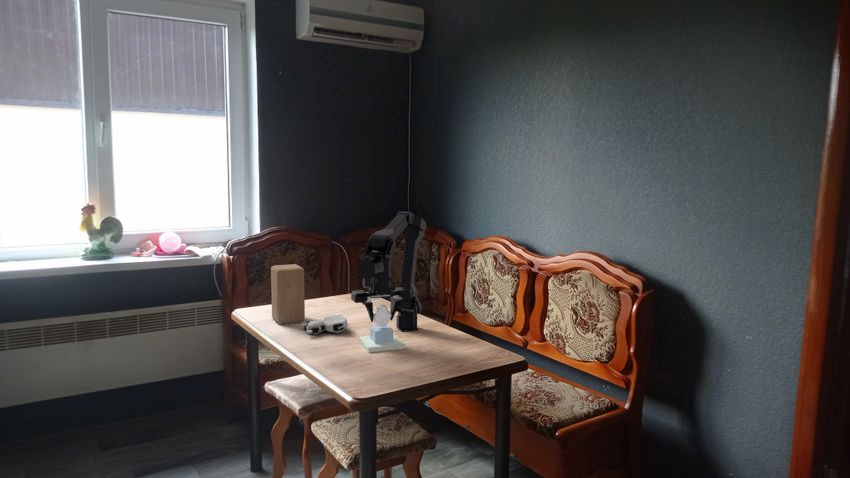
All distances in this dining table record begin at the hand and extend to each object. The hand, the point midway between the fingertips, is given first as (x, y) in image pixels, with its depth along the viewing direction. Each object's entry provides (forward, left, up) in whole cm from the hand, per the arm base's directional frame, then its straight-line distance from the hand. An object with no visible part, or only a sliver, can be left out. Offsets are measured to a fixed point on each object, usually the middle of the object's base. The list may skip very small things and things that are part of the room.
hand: (381, 320), depth 201 cm
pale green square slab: (0, 0, -8) cm, 8 cm away
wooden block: (+24, -39, -8) cm, 46 cm away
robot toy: (+14, -20, -8) cm, 26 cm away
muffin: (0, 0, -2) cm, 2 cm away
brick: (0, 0, -6) cm, 6 cm away
